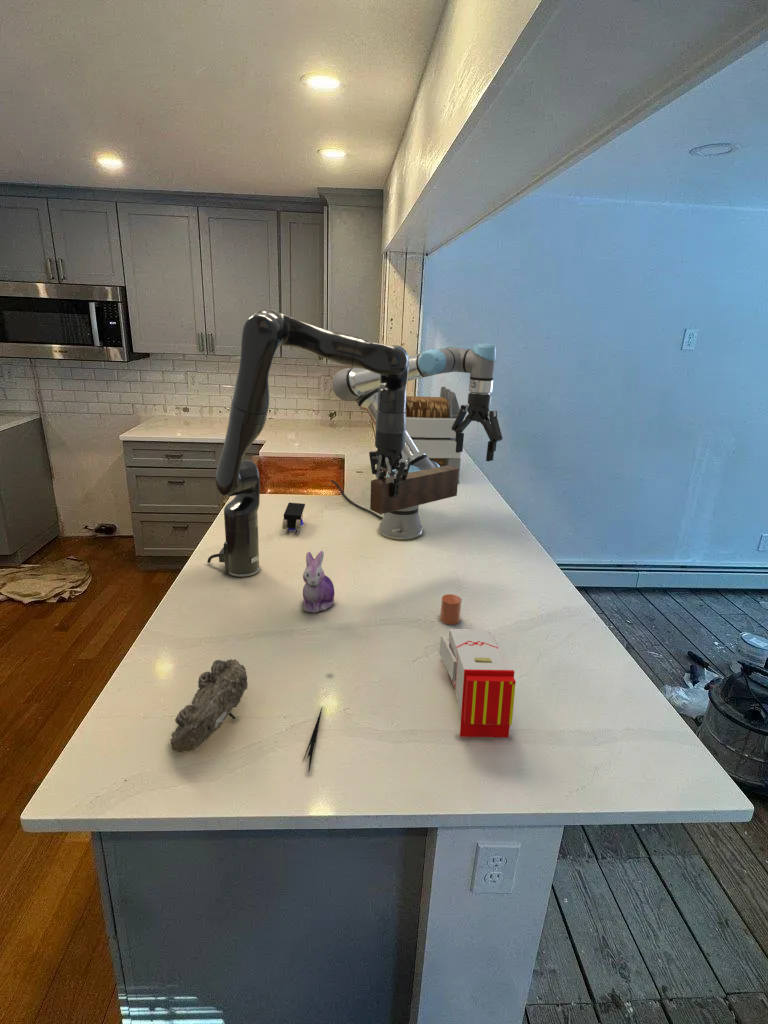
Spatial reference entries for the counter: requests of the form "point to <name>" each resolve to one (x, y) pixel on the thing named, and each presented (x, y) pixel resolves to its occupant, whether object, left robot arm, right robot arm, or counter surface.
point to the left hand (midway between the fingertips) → (387, 494)
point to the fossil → (210, 704)
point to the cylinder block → (450, 609)
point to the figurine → (316, 585)
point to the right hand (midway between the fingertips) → (473, 456)
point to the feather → (313, 740)
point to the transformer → (434, 426)
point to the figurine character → (293, 517)
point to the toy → (479, 682)
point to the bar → (414, 489)
